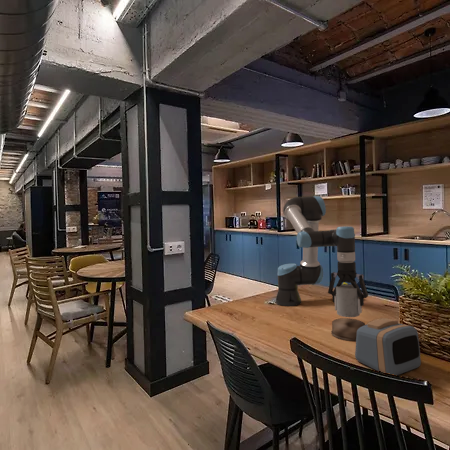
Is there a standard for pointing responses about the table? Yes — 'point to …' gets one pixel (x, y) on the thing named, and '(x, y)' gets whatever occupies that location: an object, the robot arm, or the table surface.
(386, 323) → the alarm clock
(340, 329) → the plinth
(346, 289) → the speckled grey cylinder
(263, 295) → the table surface
